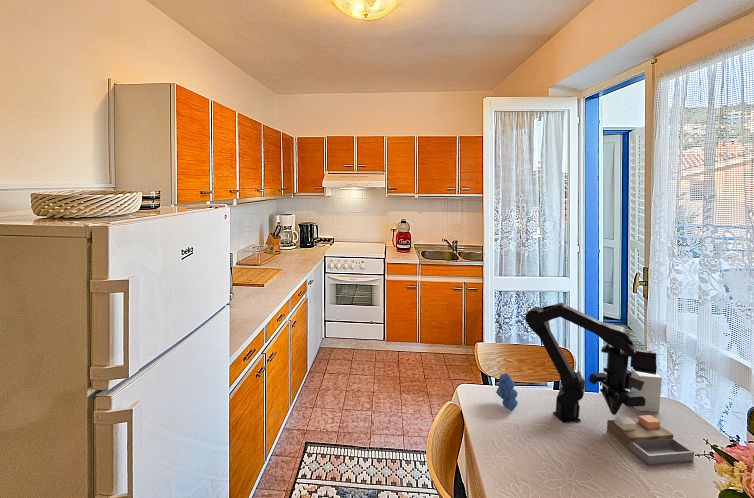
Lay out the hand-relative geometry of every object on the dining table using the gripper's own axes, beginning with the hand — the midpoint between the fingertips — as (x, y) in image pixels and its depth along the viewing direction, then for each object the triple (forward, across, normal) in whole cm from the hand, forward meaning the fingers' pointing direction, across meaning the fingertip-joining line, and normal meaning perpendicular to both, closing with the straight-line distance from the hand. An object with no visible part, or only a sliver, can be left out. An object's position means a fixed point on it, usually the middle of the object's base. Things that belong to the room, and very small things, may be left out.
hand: (613, 414), depth 135 cm
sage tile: (+1, -5, 0) cm, 6 cm away
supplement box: (+5, +12, -22) cm, 25 cm away
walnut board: (+5, -6, -4) cm, 9 cm away
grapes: (+5, +18, +28) cm, 34 cm away
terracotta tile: (+1, -6, -8) cm, 10 cm away
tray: (+5, -15, -4) cm, 16 cm away
